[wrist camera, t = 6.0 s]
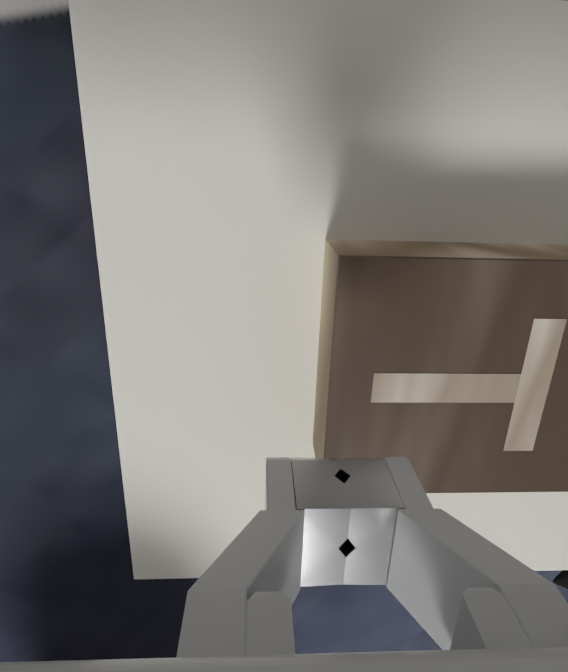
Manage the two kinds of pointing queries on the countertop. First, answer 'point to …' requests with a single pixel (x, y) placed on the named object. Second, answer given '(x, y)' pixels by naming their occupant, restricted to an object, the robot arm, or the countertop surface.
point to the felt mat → (294, 221)
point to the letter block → (447, 361)
